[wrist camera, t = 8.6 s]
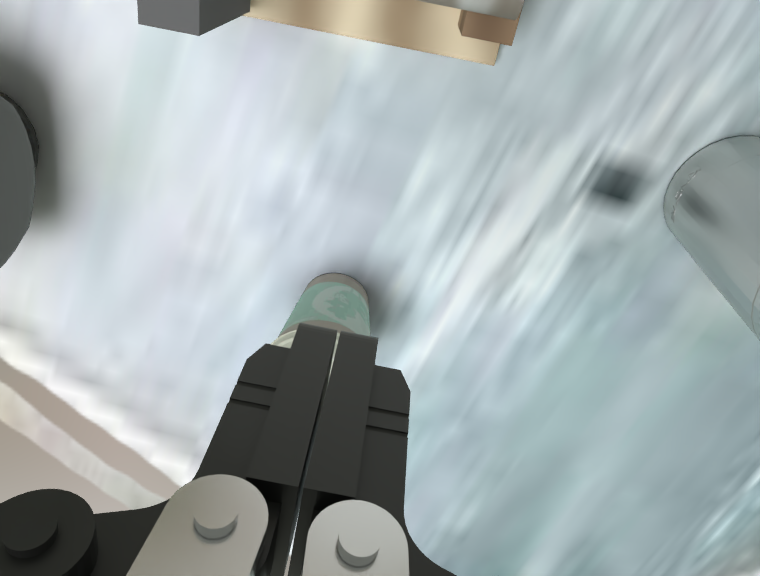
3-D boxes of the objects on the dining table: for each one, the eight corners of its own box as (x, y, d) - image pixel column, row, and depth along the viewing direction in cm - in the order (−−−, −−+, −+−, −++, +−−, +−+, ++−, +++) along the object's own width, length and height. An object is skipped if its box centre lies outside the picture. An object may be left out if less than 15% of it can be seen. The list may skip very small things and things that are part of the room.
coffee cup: (400, 317, 52) (395, 413, 42) (321, 351, 54) (297, 448, 44) (352, 242, 48) (333, 327, 38) (269, 282, 51) (230, 371, 40)
